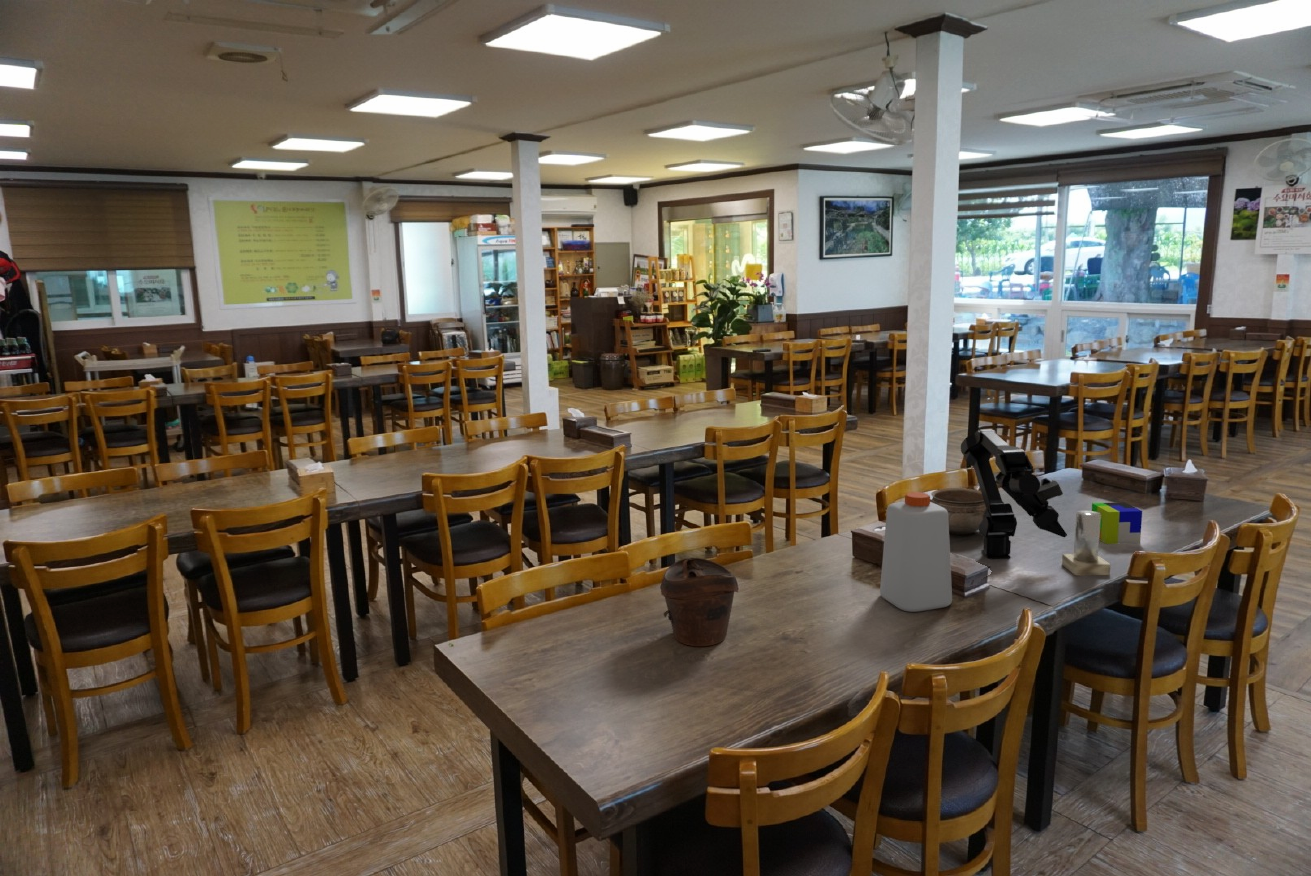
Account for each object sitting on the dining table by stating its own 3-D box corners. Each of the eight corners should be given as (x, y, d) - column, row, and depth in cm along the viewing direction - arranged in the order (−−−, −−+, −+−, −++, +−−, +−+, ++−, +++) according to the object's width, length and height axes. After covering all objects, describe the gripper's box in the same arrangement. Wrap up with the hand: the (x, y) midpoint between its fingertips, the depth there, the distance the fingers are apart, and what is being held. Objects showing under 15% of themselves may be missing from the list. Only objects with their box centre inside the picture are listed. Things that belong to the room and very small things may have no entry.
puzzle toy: (1140, 543, 254) (1142, 510, 252) (1106, 544, 255) (1108, 512, 253) (1122, 533, 264) (1124, 502, 262) (1090, 534, 264) (1092, 503, 262)
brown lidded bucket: (688, 613, 214) (686, 545, 211) (755, 632, 202) (754, 560, 199) (643, 638, 201) (639, 566, 198) (711, 659, 188) (709, 583, 185)
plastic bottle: (905, 615, 208) (907, 505, 203) (873, 594, 222) (874, 490, 217) (958, 607, 212) (962, 498, 207) (924, 586, 226) (926, 484, 221)
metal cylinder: (1078, 562, 231) (1081, 516, 229) (1069, 555, 237) (1072, 510, 234) (1101, 562, 231) (1104, 516, 228) (1092, 555, 236) (1094, 510, 234)
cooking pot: (1011, 533, 268) (1013, 496, 265) (979, 547, 256) (981, 508, 253) (940, 518, 287) (941, 483, 284) (908, 530, 275) (908, 494, 273)
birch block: (1075, 575, 230) (1076, 564, 230) (1061, 564, 239) (1062, 553, 238) (1109, 574, 230) (1110, 564, 229) (1094, 563, 238) (1095, 553, 238)
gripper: (1051, 479, 223) (1094, 521, 223) (1036, 464, 241) (1076, 502, 240) (1018, 508, 226) (1060, 549, 226) (1006, 490, 244) (1045, 528, 244)
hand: (1061, 531), depth 234 cm, fingers open, 9 cm apart
